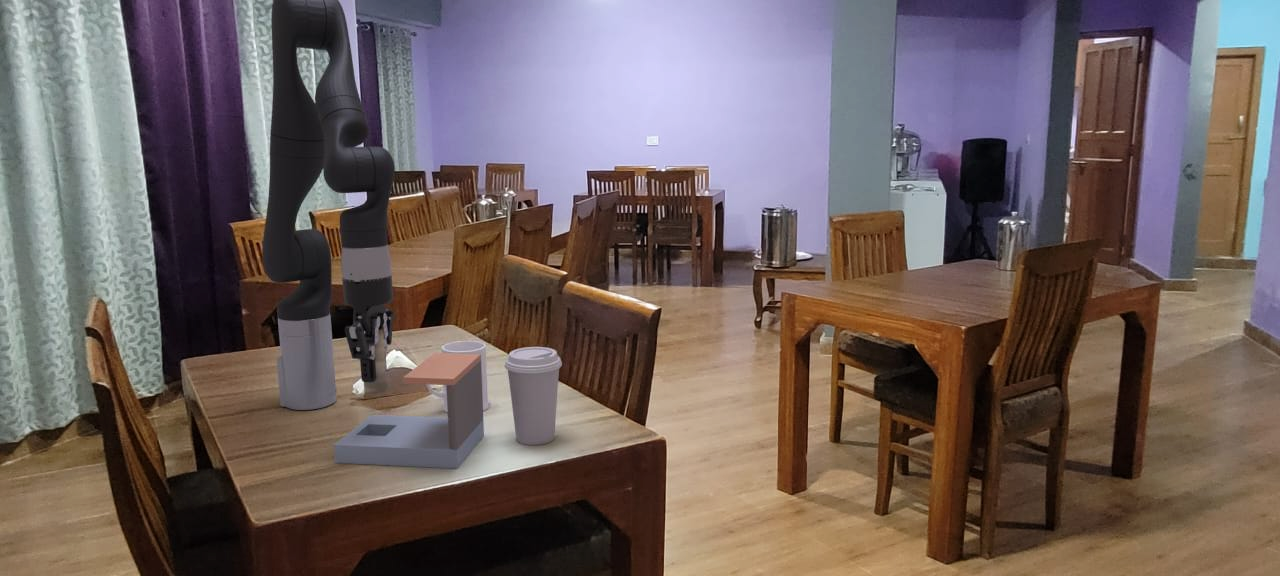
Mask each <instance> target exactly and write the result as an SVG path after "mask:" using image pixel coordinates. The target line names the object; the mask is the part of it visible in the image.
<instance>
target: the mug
mask: <svg viewBox="0 0 1280 576" xmlns="http://www.w3.org/2000/svg"><path fill="white" fill-rule="evenodd" d="M486 346H487V345H486V344H485V343H484V342H483V341H478V340H477V341H476V340H459V341H452V342H448V343H446V344H443V345H442V346H441V353H457V354H481V370H482V395H483V412H484V411H486V410H488V408H489V407H490V402H489V397H488V374H487V348H486ZM425 386H426V388H427V390H429V392H430V393H431V394H433V396H436V397H438V398H441V399H442V398H443V406H442V409H443V411H444V412H446V413H447V414H448V409H447V388H446V385H442V387H443V391H437V390H435V389H434V388H432V387H431V385H429V384H425Z"/></svg>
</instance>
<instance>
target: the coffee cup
mask: <svg viewBox="0 0 1280 576" xmlns="http://www.w3.org/2000/svg"><path fill="white" fill-rule="evenodd" d="M557 352H558V351H557V350H556V349H553V348H550V347H543V346H529V347H519V348H517V349H514V350H511V351H510V352H509V354H508V357H507V359H506V360H505V363H504V369H506V370H507V375H508V383H509V391H510V392H509V393H510V398H511V400H510V401H511V407H512V408H511V409H512V415H513V423H514V424H513V425H514V431H515V439H516V441H517V442H518V443H520V444H522V445H529V446H538V445H545V444H548V443H550V442H552V441H553V440H554V439H555V436H556V435H555V433H556V419H557V406H558V405H557V404H558V403H557V402H558V392H559V391H558V388H559V374H560V373H559V372H560V368H561V367H562V365H563V362H562V360H561V357H560V356H559V355H558V353H557Z"/></svg>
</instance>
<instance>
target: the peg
mask: <svg viewBox="0 0 1280 576" xmlns="http://www.w3.org/2000/svg"><path fill="white" fill-rule="evenodd" d="M371 339H372V337H371V338H366V340H371ZM368 349H369V345H368ZM385 352H386V351H385V347H384V333H383V329H380V330H378V344H377V345H375V358H374V359H375V365H376V380H375V381H374V382H363V389H364V392H365V394H371V395H373V394H380V393H384V392H386V391H388V378H387V376H388V375H387V372H386V366H387V360H386V361H385Z"/></svg>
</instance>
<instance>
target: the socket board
mask: <svg viewBox="0 0 1280 576" xmlns="http://www.w3.org/2000/svg"><path fill="white" fill-rule="evenodd" d="M402 383H403V385H404V384H405V385H407V384H408V385H426V384H429V385H430V386H431V385H434V386H436V385H437V386H443V385H446V388H447V409H448V413H447V417H440V416H439V417H438V416H419V415H418V416H415V415H414V416H411V415H391V414H390V415H388V414H387V415H386V414H371V415H369V416H367V418H366V419H364V420H363V421H362V422H360V423H359V424H358V425H356V426H355V427H354V428H353V429H352V430H350V431H349V432H348V433H347V434H346V435H344V436H343V437H342V438H340V439H339V440H337V442H335V444H333V451H334V453H333V454H334V463H335V464H353V465H354V464H356V465H373V466H374V465H377V466H378V465H379V466H395V467H396V466H397V467H419V468H420V467H421V468H440V469H441V468H442V469H459V468H460V467H461V465H462V464H463V463H464V461H465V460H466V459H467V457H469V455H470V454H471V453H472V451H473V450H474V449H476V446H478V444H479V442H481V440H482V439H483V438H484V437H485V427H484V426H485V423H484V411H483V395H482V370H481V354H457V353H442V352H434V353H432V355H430V356H428V358H426V359H425V360H424V361H422V362H421V363H419V365H417V366H416V367H415V368H413V369H412V370H410V372H408V373H407V374H405V375H404V376H403V377H402Z"/></svg>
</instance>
